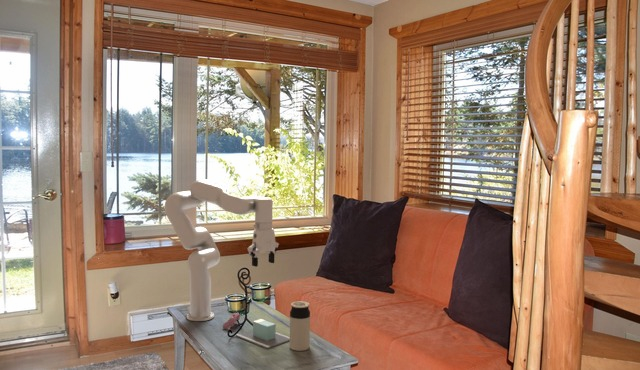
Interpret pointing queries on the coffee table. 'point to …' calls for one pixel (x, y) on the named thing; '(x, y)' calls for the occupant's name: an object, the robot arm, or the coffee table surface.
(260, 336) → the card deck block
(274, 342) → the mat
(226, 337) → the coffee table surface
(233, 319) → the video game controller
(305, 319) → the travel mug
